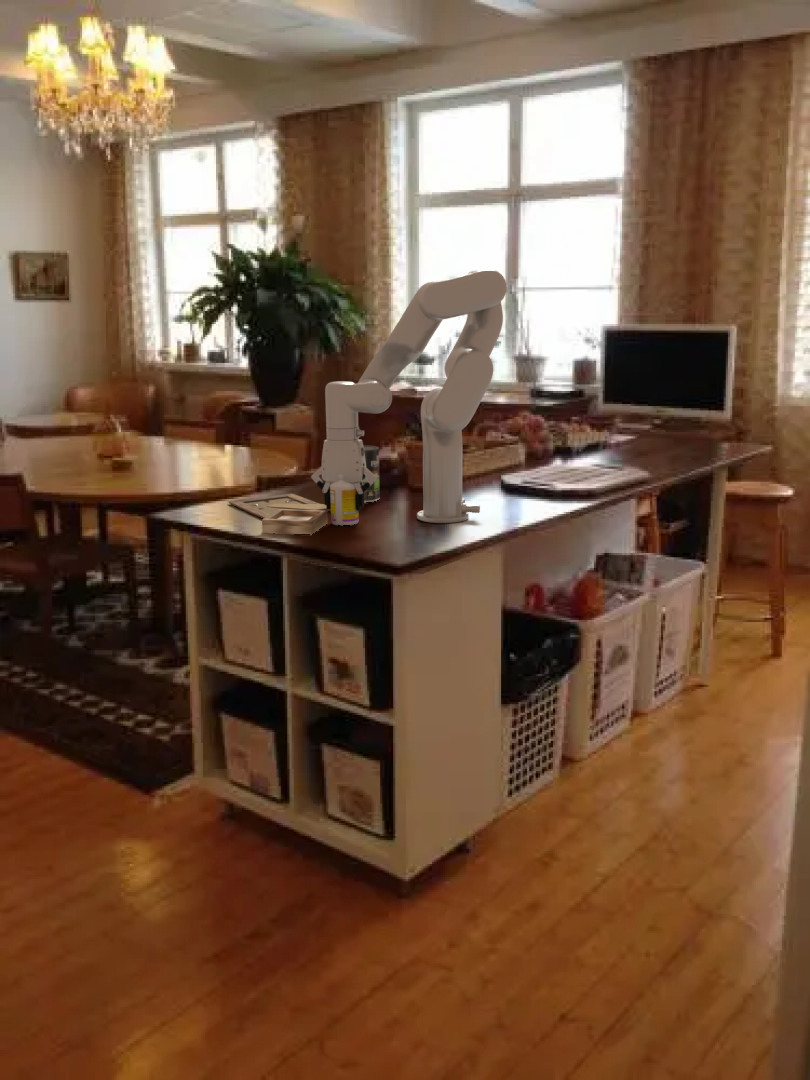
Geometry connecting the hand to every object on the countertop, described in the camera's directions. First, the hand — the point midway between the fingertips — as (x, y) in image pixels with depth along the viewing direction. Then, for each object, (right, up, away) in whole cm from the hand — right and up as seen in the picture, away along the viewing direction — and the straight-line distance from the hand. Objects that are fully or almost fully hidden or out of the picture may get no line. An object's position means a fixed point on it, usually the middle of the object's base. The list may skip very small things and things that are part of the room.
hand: (344, 508), depth 233 cm
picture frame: (-18, 0, +19) cm, 27 cm away
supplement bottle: (0, -4, +1) cm, 4 cm away
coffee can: (+3, +3, +28) cm, 29 cm away
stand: (-11, -5, -3) cm, 13 cm away
